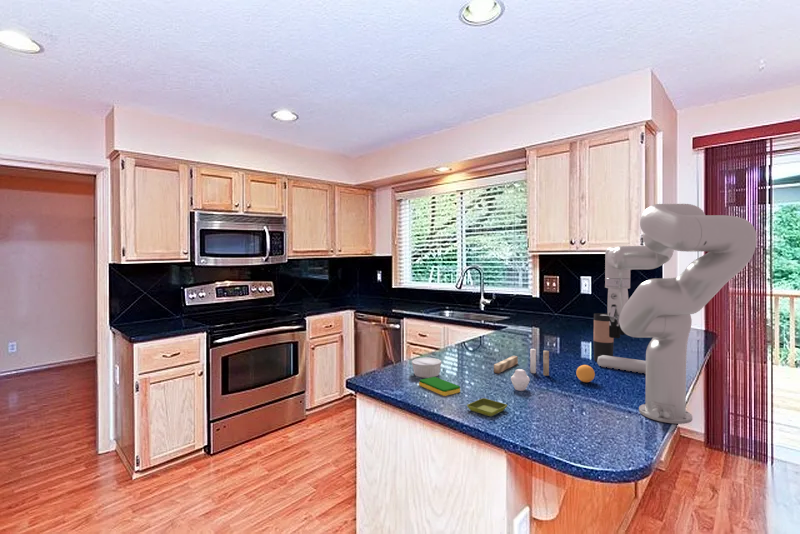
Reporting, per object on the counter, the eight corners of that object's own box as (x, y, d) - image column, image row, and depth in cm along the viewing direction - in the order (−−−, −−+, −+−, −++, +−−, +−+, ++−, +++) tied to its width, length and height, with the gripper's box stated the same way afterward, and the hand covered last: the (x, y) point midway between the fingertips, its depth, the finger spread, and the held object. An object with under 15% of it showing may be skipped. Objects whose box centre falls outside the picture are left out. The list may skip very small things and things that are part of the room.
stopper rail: (498, 373, 158) (498, 365, 158) (493, 372, 159) (493, 364, 159) (517, 363, 172) (517, 356, 172) (513, 362, 173) (513, 355, 173)
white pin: (534, 373, 157) (534, 350, 157) (529, 372, 158) (529, 349, 158) (536, 372, 159) (536, 349, 158) (531, 371, 160) (531, 348, 160)
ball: (592, 385, 142) (592, 368, 142) (574, 382, 146) (574, 365, 146) (596, 381, 147) (596, 364, 147) (579, 378, 151) (579, 362, 151)
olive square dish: (466, 411, 120) (466, 404, 120) (483, 404, 126) (483, 397, 126) (491, 420, 114) (491, 412, 114) (508, 411, 120) (508, 404, 120)
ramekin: (409, 378, 153) (409, 363, 153) (415, 369, 164) (415, 356, 164) (439, 380, 150) (439, 365, 150) (443, 371, 161) (443, 358, 161)
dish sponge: (444, 397, 133) (444, 390, 133) (418, 386, 144) (418, 379, 144) (460, 393, 137) (460, 386, 136) (434, 383, 148) (434, 376, 148)
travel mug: (589, 360, 177) (589, 313, 176) (601, 358, 180) (602, 312, 180) (604, 364, 170) (605, 316, 170) (617, 362, 173) (617, 314, 173)
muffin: (521, 385, 143) (522, 365, 143) (533, 390, 137) (533, 370, 137) (506, 387, 141) (507, 367, 140) (518, 393, 135) (518, 372, 135)
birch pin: (547, 375, 154) (547, 352, 154) (542, 375, 155) (542, 351, 155) (549, 374, 156) (549, 351, 155) (544, 373, 157) (544, 350, 157)
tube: (594, 357, 166) (667, 368, 149) (598, 351, 170) (670, 360, 153) (596, 369, 167) (668, 381, 151) (599, 362, 171) (671, 373, 155)
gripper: (624, 285, 130) (624, 341, 131) (634, 282, 144) (634, 333, 144) (599, 284, 135) (598, 338, 136) (611, 281, 149) (610, 331, 149)
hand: (617, 335), depth 140 cm, fingers open, 6 cm apart
